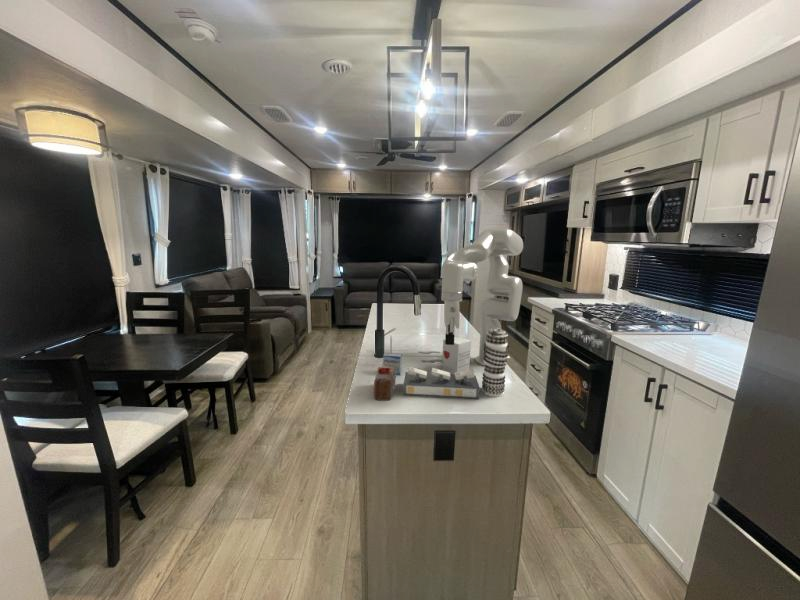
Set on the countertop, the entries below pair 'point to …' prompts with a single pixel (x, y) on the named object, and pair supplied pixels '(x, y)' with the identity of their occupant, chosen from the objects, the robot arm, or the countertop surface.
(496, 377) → the decorative candle
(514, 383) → the countertop surface
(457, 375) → the rocker
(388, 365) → the medicine box
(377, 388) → the food item
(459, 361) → the supplement box
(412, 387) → the switch unit
